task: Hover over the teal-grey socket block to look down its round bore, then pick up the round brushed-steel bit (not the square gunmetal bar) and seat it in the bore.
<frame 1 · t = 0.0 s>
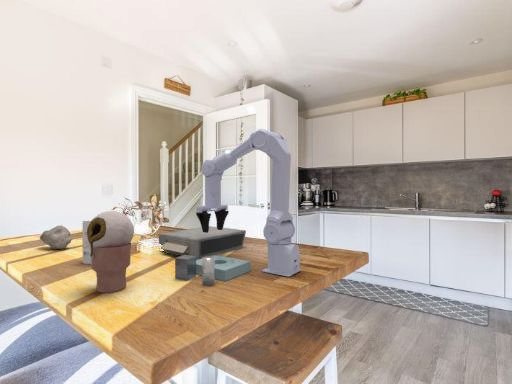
hand: (212, 231, 106), 10 cm above the table, tool pointing down, fingers open, 7 cm apart
ice cream cone: (111, 289, 75), on the table
square bar: (185, 277, 84), on the table
ink box: (97, 263, 101), on the table
stone: (56, 249, 124), on the table
round bit: (208, 283, 79), on the table
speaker: (201, 251, 121), on the table
socket block: (219, 271, 90), on the table
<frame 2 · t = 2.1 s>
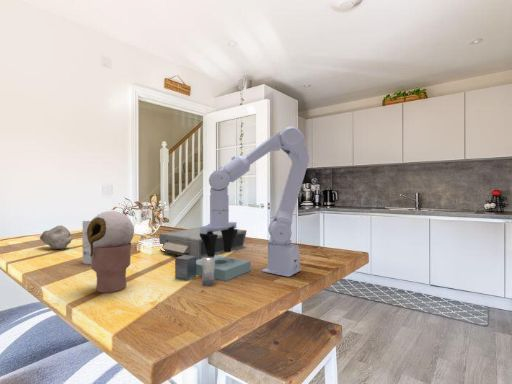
hand: (219, 254, 90), 5 cm above the table, tool pointing down, fingers open, 7 cm apart
nothing on the table moved.
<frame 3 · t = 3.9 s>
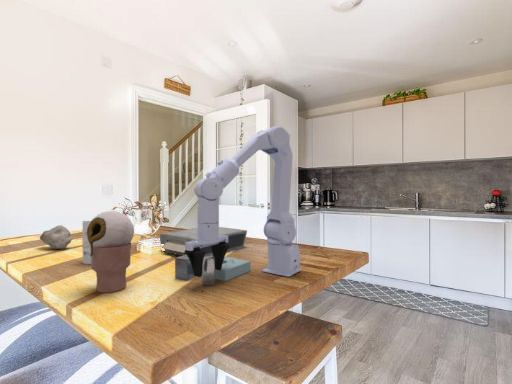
hand: (208, 272, 79), 3 cm above the table, tool pointing down, fingers open, 7 cm apart
nothing on the table moved.
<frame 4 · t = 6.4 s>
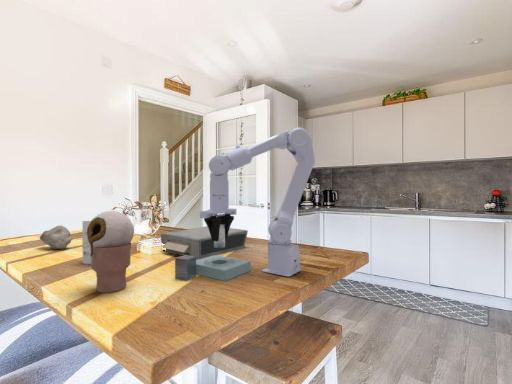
hand: (219, 239, 90), 10 cm above the table, tool pointing down, fingers closed on round bit, 3 cm apart
round bit: (219, 246, 90), point 8 cm above the table, touching gripper
everything else where it was.
when the fingers open (3 cm above the table, at t = 8.3 s): round bit drops 1 cm, resting in socket block.
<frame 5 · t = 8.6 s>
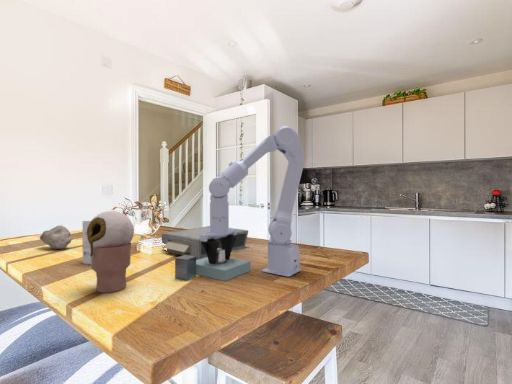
hand: (219, 261, 90), 3 cm above the table, tool pointing down, fingers open, 6 cm apart
round bit: (219, 271, 90), resting in socket block
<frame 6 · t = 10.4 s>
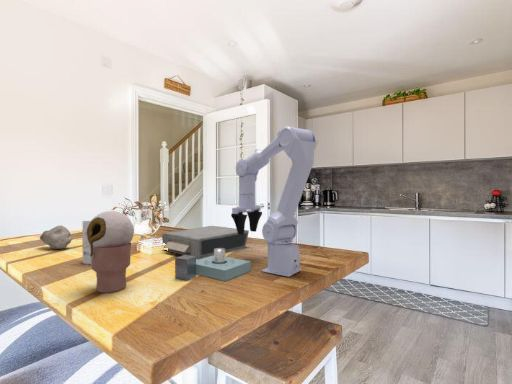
hand: (247, 232, 103), 10 cm above the table, tool pointing down, fingers open, 7 cm apart
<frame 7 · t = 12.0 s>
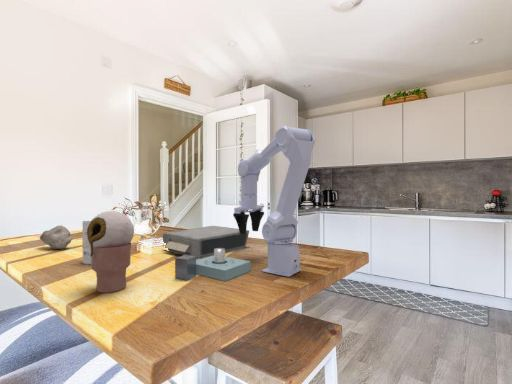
hand: (249, 232, 104), 10 cm above the table, tool pointing down, fingers open, 7 cm apart
at the end: round bit 0.0 cm off-centre on the socket block, point 0.0 cm above the socket block's base; round bit tilted 0°; square bar moved 0.1 cm from its start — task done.
